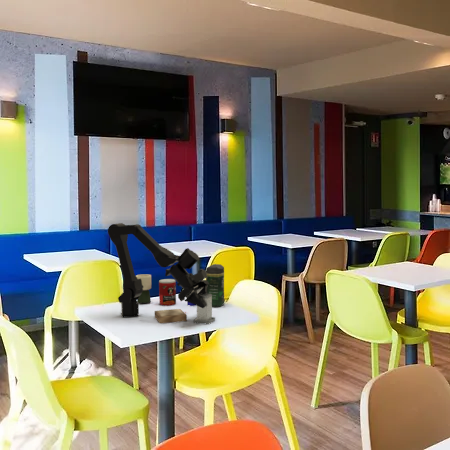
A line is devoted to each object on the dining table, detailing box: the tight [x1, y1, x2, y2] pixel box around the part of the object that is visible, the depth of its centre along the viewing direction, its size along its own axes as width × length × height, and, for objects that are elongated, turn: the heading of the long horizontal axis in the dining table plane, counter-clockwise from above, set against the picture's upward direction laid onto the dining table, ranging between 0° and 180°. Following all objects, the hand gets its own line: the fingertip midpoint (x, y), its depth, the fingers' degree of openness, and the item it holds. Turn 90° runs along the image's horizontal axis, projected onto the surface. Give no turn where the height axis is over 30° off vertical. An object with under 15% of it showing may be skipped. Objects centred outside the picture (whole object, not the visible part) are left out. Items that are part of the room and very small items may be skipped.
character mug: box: [135, 273, 152, 304], centre depth 253 cm, size 11×7×13 cm, turn 166°
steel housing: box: [193, 293, 216, 325], centre depth 217 cm, size 6×6×11 cm
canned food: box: [158, 278, 177, 307], centre depth 250 cm, size 8×8×11 cm
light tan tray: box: [154, 308, 188, 324], centre depth 222 cm, size 11×11×3 cm
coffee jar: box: [205, 263, 225, 308], centre depth 247 cm, size 10×8×19 cm
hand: (207, 305), depth 217 cm, fingers open, 7 cm apart
